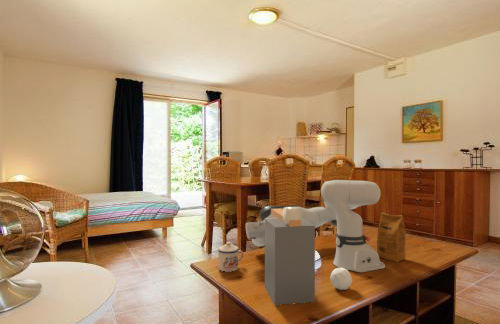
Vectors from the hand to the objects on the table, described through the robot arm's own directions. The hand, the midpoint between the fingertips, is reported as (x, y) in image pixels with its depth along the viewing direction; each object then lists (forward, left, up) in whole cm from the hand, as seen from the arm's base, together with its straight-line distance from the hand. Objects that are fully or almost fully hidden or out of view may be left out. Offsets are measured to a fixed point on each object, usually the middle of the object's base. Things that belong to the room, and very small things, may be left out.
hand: (270, 221), depth 127 cm
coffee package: (-62, -3, -21) cm, 66 cm away
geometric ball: (-21, +24, -21) cm, 38 cm away
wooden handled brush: (0, +20, +5) cm, 20 cm away
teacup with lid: (+17, -4, -21) cm, 27 cm away
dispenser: (0, +25, -21) cm, 32 cm away
